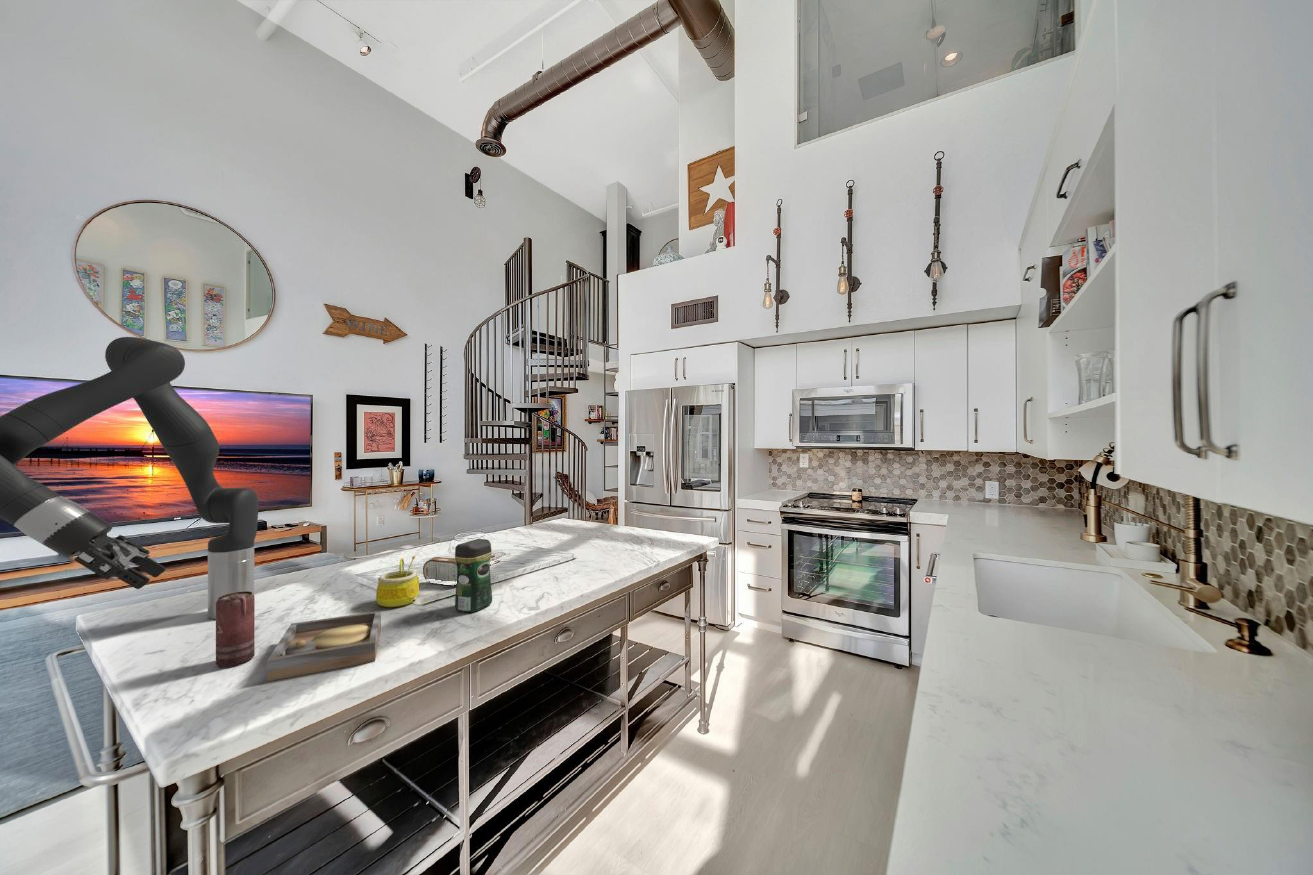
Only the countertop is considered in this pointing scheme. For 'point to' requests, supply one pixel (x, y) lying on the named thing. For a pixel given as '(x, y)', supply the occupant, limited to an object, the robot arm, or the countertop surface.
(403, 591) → the yellow pot
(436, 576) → the tin
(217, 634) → the can
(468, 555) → the coffee jar
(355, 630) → the carrier tray
